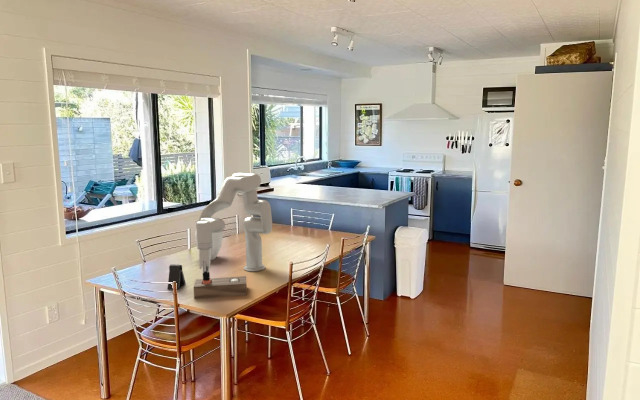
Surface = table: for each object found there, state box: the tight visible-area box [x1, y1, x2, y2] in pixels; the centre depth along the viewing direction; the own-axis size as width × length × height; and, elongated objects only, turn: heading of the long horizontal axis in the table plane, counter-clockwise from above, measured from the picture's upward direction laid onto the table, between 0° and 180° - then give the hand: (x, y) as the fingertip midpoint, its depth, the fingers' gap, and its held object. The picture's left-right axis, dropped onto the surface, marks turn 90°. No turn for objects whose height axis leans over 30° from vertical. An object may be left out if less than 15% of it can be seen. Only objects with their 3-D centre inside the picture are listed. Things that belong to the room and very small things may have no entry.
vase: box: [194, 230, 224, 261], centre depth 300 cm, size 18×18×25 cm
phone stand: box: [167, 264, 186, 290], centre depth 248 cm, size 9×6×12 cm, turn 170°
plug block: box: [193, 275, 248, 299], centre depth 239 cm, size 12×26×6 cm, turn 99°
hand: (206, 280), depth 237 cm, fingers closed
